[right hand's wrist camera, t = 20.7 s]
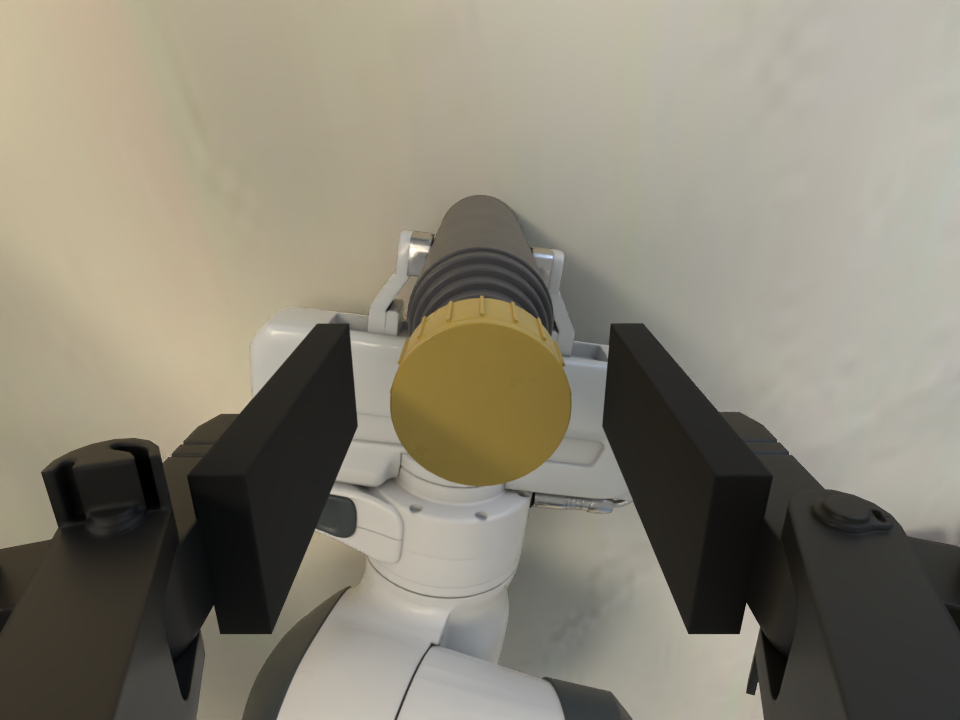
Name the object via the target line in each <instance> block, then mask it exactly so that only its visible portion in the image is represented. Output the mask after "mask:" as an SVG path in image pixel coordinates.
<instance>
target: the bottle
mask: <svg viewBox="0 0 960 720" xmlns="http://www.w3.org/2000/svg"><path fill="white" fill-rule="evenodd" d="M480 296H484V298H490V299H496V300H502V301H505V302H508V303H511V301H512V302H515V305H516V306H518V307H520V308H522V309H524V310H525V311H527V312H528V313H530V314H531V315H532V316H534V317H535V318H536V319H537V318H538V317H539V318H540V319H541V323H542V325H543V326H544V327H545V328H546V330H547V331H548V333H549V334H550V336H551V337H552V331H553V323H554V312H553V304H552V299H551V296H550V294H549V291H548V288H547V286H546V284H545V282H544V279H543V277H542V275H541V272H540V270H539V268H538V265H537V263H536V261H535V259H534V256H533V254H532V252H531V249H530V247H529V245H528V242H527V240H526V238H525V236H524V233H523V231H522V229H521V226H520V224H519V222H518V220H517V218H516V216H515V214H514V213H513V211H512V210H511V209H510V208H509V207H508V206H507V205H506V204H505V203H503V202H502V201H500V200H498V199H496V198H494V197H490V196H485V195H476V196H470V197H467V198H464V199H462V200H460V201H459V202H457V203H456V204H454V205H453V206H452V207H451V208H450V209H449V211H448V212H447V213H446V215H445V217H444V218H443V221H442V223H441V226H440V228H439V230H438V233H437V235H436V237H435V240H434V242H433V244H432V247H431V249H430V251H429V254H428V256H427V258H426V261H425V263H424V265H423V268H422V270H421V272H420V275H419V277H418V279H417V282H416V284H415V287H414V289H413V291H412V294H411V296H410V300H409V304H408V312H407V323H408V331H409V337H411V335H412V334H413V332H414V331H415V329H416V328H417V327H418V326H419V325H420V323H421V322H422V318H423V317H424V316H426V317H428V316H429V315H430V314H432V313H433V312H435V311H436V310H438V309H440V308H442V307H444V306H446V305H448V304H449V301H453V303H454V302H457V301H460V300H465V299H471V298H480Z"/></svg>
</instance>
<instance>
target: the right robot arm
mask: <svg viewBox="0 0 960 720" xmlns="http://www.w3.org/2000/svg"><path fill="white" fill-rule="evenodd" d="M357 427H358V421H357V410H356V398H355V386H354V375H353V363H352V351H351V339H350V328H349V323H317V324H316V325H315V326H314V328H313V329H312V330H311V331H310V332H309V334H308V335H307V336H306V337H305V338H304V339H303V341H302V342H301V343H300V344H299V345H298V346H297V348H296V349H295V350H294V351H293V352H292V353H291V355H290V356H289V357H288V358H287V359H286V360H285V362H284V363H283V364H282V365H281V366H280V367H279V369H278V370H277V371H276V372H275V373H274V374H273V376H272V377H271V378H270V379H269V380H268V381H267V383H266V384H265V385H264V386H263V387H262V388H261V390H260V391H259V392H258V393H257V394H256V395H255V397H254V398H253V399H252V400H251V401H250V402H249V404H248V405H247V406H246V407H245V408H244V409H243V411H242V412H241V413H240V414H220V415H218V416H217V417H215V418H213V419H211V420H209V421H208V422H206V423H204V424H202V425H200V426H198V427H197V428H196V429H195V430H194V431H193V432H192V433H191V435H190V436H189V437H188V438H187V439H186V440H185V441H184V444H183V445H180V446H179V447H178V448H177V449H176V450H175V451H174V452H173V453H172V457H168V458H167V460H166V461H165V462H164V463H162V459H161V455H160V450H159V446H157V445H156V444H154V443H153V442H151V441H149V440H143V439H136V438H129V439H113V440H109V441H104V442H99V443H94V444H91V445H88V446H85V447H82V448H79V449H76V450H74V451H71V452H69V453H67V454H65V455H63V456H62V457H60V458H58V459H56V460H54V461H53V462H51V463H50V464H49V465H48V466H47V467H46V468H45V469H44V470H43V471H42V472H41V473H42V477H43V480H44V483H45V486H46V489H47V492H48V496H49V499H50V502H51V505H52V508H53V511H54V514H55V518H56V521H57V524H58V527H59V528H58V529H57V531H56V533H55V535H54V537H53V538H52V539H51V540H47V541H41V542H36V543H31V544H26V545H20V546H15V547H10V548H4V549H0V720H196V716H197V709H198V702H199V694H200V687H201V680H202V672H203V665H204V658H205V651H204V644H203V639H202V635H201V630H200V628H201V627H202V625H203V623H204V621H205V619H206V618H207V616H208V614H209V612H210V611H211V609H212V607H213V605H214V606H215V611H216V616H217V621H218V625H219V630H220V634H272V632H273V629H274V627H275V624H276V622H277V620H278V617H279V615H280V612H281V610H282V608H283V605H284V603H285V600H286V598H287V596H288V593H289V591H290V588H291V586H292V584H293V581H294V579H295V576H296V574H297V572H298V569H299V567H300V564H301V562H302V559H303V557H304V555H305V552H306V550H307V547H308V545H309V543H310V540H311V538H312V535H313V533H314V531H315V528H316V526H317V523H318V521H319V519H320V516H321V514H322V511H323V509H324V507H325V504H326V502H327V499H328V497H329V495H330V492H331V490H332V487H333V485H334V483H335V480H336V478H337V475H338V473H339V471H340V468H341V466H342V463H343V461H344V459H345V456H346V454H347V451H348V449H349V447H350V444H351V442H352V439H353V437H354V435H355V432H356V430H357ZM602 427H603V430H604V432H605V435H606V437H607V439H608V442H609V444H610V447H611V449H612V451H613V454H614V456H615V459H616V461H617V463H618V466H619V468H620V471H621V473H622V475H623V478H624V480H625V483H626V485H627V487H628V490H629V492H630V495H631V497H632V499H633V502H634V504H635V507H636V509H637V511H638V514H639V516H640V519H641V521H642V523H643V526H644V528H645V531H646V533H647V535H648V538H649V540H650V543H651V545H652V547H653V550H654V552H655V555H656V557H657V559H658V562H659V564H660V567H661V569H662V572H663V574H664V576H665V579H666V581H667V584H668V586H669V588H670V591H671V593H672V596H673V598H674V600H675V603H676V605H677V608H678V610H679V612H680V615H681V617H682V620H683V622H684V624H685V627H686V629H687V632H688V634H740V630H741V625H742V621H743V616H744V611H745V606H746V602H747V604H748V606H749V608H750V609H751V611H752V613H753V615H754V616H755V618H756V620H757V622H758V623H759V625H760V630H759V635H758V639H757V644H756V648H755V652H754V657H753V661H752V665H751V670H750V674H749V679H748V684H747V691H746V693H747V694H751V695H755V691H756V687H757V683H758V682H759V686H760V693H761V700H762V707H763V715H764V720H960V546H954V545H949V544H944V543H939V542H933V541H928V540H923V539H917V538H912V537H908V536H907V535H906V534H905V532H904V530H903V528H902V526H901V525H900V524H899V523H898V522H897V521H896V520H895V519H894V517H893V516H892V515H891V514H889V513H888V512H886V511H885V510H883V509H882V508H880V507H879V506H877V505H876V504H874V503H872V502H869V501H867V500H864V499H862V498H860V497H857V496H855V495H852V494H848V493H843V492H839V491H835V490H827V489H824V488H823V487H822V486H821V485H820V484H819V483H818V482H817V481H816V480H815V479H814V477H813V476H812V475H811V474H810V473H809V472H808V471H807V470H806V469H805V468H804V467H803V466H802V465H801V464H800V463H799V462H798V461H797V460H796V459H795V458H794V457H793V456H792V455H789V452H788V451H787V450H786V449H785V448H784V446H783V445H782V444H781V443H777V439H776V438H775V437H774V436H773V435H772V434H771V433H770V432H769V431H768V430H767V429H766V428H765V427H764V426H763V425H762V424H760V423H758V422H756V421H755V420H753V419H751V418H749V417H747V416H746V415H744V414H742V413H740V412H718V411H717V409H716V408H715V407H714V406H713V405H712V404H711V402H710V401H709V400H708V399H707V398H706V397H705V395H704V394H703V393H702V392H701V391H700V390H699V388H698V387H697V386H696V385H695V384H694V383H693V381H692V380H691V379H690V378H689V377H688V376H687V374H686V373H685V372H684V371H683V370H682V369H681V367H680V366H679V365H678V364H677V363H676V362H675V360H674V359H673V358H672V357H671V356H670V355H669V353H668V352H667V351H666V350H665V349H664V348H663V346H662V345H661V344H660V343H659V342H658V341H657V339H656V338H655V337H654V336H653V335H652V334H651V332H650V331H649V330H648V329H647V328H646V326H645V325H644V324H643V323H611V328H610V339H609V351H608V363H607V375H606V386H605V398H604V410H603V421H602Z"/></svg>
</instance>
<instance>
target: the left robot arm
mask: <svg viewBox="0 0 960 720" xmlns="http://www.w3.org/2000/svg"><path fill="white" fill-rule="evenodd" d="M433 242H434V234H431V233H425V232H418V231H412V230H403V231H402V232H401V233H400V238H399V244H398V256H397V268H396V270H395V271H394V272H393V274H392V275H391V277H390V278H389V279H388V281H387V282H386V284H385V285H384V286H383V288H382V289H381V291H380V292H379V293H378V295H377V296H376V298H375V299H374V301H373V303H372V304H371V306H370V307H369V315H361V314H353V313H345V312H337V311H329V310H320V309H312V308H304V307H297V306H286V307H283V308H281V309H280V310H279V311H277V312H276V313H275V314H273V315H272V316H271V317H269V318H268V319H267V320H266V321H265V322H264V323H263V324H262V325H261V326H260V327H259V328H258V330H257V331H256V332H255V334H254V336H253V338H252V340H251V344H250V377H251V389H252V399H253V398H254V397H255V395H256V394H257V393H258V392H259V391H260V390H261V388H262V387H263V386H264V385H265V384H266V383H267V381H268V380H269V379H270V378H271V377H272V376H273V374H274V373H275V372H276V371H277V370H278V369H279V367H280V366H281V365H282V364H283V363H284V362H285V360H286V359H287V358H288V357H289V356H290V355H291V353H292V352H293V351H294V350H295V349H296V348H297V346H298V345H299V344H300V343H301V342H302V341H303V339H304V338H305V337H306V336H307V335H308V334H309V332H310V331H311V330H312V329H313V328H314V326H315V325H316V324H317V323H349V328H350V339H351V351H352V363H353V375H354V386H355V398H356V410H357V421H358V427H357V430H356V432H355V435H354V437H353V439H352V442H351V444H350V447H349V449H348V451H347V454H346V456H345V459H344V461H343V463H342V466H341V468H340V471H339V473H338V475H337V478H336V480H335V483H334V485H333V487H332V490H331V492H330V495H329V497H328V499H327V502H326V504H325V507H324V509H323V511H322V514H321V516H320V519H319V521H318V523H317V526H316V528H315V532H317V533H320V534H322V535H325V536H327V537H330V538H332V539H335V540H337V541H339V542H341V543H344V544H346V545H348V546H350V547H352V548H354V549H356V550H358V551H360V552H362V553H364V554H365V556H366V569H365V573H364V575H363V578H362V580H361V582H360V584H359V585H358V586H356V587H354V588H352V587H351V586H349V587H347V588H344V589H343V590H341V591H339V592H337V593H336V594H334V595H333V596H331V597H330V598H329V599H327V600H326V601H325V602H324V603H322V604H321V605H319V606H318V607H317V608H315V609H314V610H313V611H312V612H310V613H309V614H308V615H306V616H305V617H304V618H303V619H301V620H300V621H299V622H298V623H297V624H296V625H295V626H294V627H292V628H291V629H290V631H289V632H288V633H287V634H286V635H285V636H284V637H283V638H282V639H281V641H280V642H279V643H278V645H277V646H276V647H275V649H274V650H273V652H272V653H271V655H270V656H269V658H268V659H267V661H266V662H265V664H264V666H263V667H262V669H261V671H260V673H259V674H258V676H257V678H256V680H255V682H254V685H253V687H252V689H251V692H250V695H249V697H248V701H247V704H246V707H245V710H244V714H243V718H242V720H633V719H632V718H631V717H630V715H629V714H628V712H627V711H626V710H625V709H624V707H623V706H622V705H621V704H620V702H619V701H618V700H617V699H616V697H615V696H614V695H613V694H612V693H611V692H610V691H606V690H601V689H597V688H592V687H588V686H583V685H579V684H574V683H570V682H566V681H561V680H557V679H552V678H548V677H544V678H542V679H540V678H537V677H534V676H531V675H528V674H525V673H522V672H519V671H516V670H513V669H510V668H507V667H504V666H501V665H498V662H499V658H500V655H501V651H502V647H503V643H504V638H505V634H506V629H507V624H508V618H509V600H508V594H507V587H508V585H509V584H510V582H511V581H512V579H513V577H514V575H515V573H516V571H517V568H518V564H519V561H520V556H521V550H522V545H523V540H524V535H525V529H526V524H527V519H528V512H529V508H531V506H532V507H541V508H550V509H576V510H585V511H587V512H590V513H596V514H607V513H611V512H612V511H613V508H617V507H622V506H625V505H628V504H630V503H631V502H633V499H632V497H631V495H630V492H629V490H628V487H627V485H626V483H625V480H624V478H623V475H622V473H621V471H620V468H619V466H618V463H617V461H616V459H615V456H614V454H613V451H612V449H611V447H610V444H609V442H608V439H607V437H606V435H605V432H604V430H603V427H602V421H603V410H604V398H605V386H606V375H607V363H608V351H609V345H604V344H596V343H588V342H580V341H574V337H575V332H574V329H573V326H572V323H571V321H570V318H569V315H568V313H567V310H566V307H565V305H564V302H563V299H562V296H561V294H560V292H559V288H560V282H561V277H562V271H563V266H564V254H563V252H562V251H561V250H556V249H549V248H540V247H530V249H531V252H532V254H533V256H534V259H535V261H536V263H537V265H538V268H539V270H540V272H541V275H542V277H543V279H544V282H545V284H546V286H547V288H548V291H549V294H550V296H551V299H552V304H553V312H554V323H553V331H552V339H553V341H556V342H557V344H558V347H559V349H560V352H561V355H562V357H563V360H564V363H565V366H564V367H563V368H564V371H565V373H566V376H567V379H568V383H569V386H570V389H571V392H572V396H571V397H572V410H571V417H570V422H569V425H568V429H567V431H566V433H565V436H564V438H563V440H562V442H561V443H560V445H559V446H558V448H557V449H556V451H555V452H554V453H553V454H552V456H551V457H550V458H549V459H548V460H547V461H546V462H545V463H543V464H542V465H541V466H540V467H538V468H537V469H536V470H534V471H533V472H531V473H529V474H527V475H526V476H524V477H521V478H519V479H517V480H514V481H511V482H508V483H504V484H499V485H493V486H468V485H462V484H457V483H454V482H450V481H447V480H445V479H443V478H440V477H438V476H436V475H434V474H432V473H431V472H429V471H427V470H426V469H425V468H423V467H422V466H421V465H419V464H418V463H417V462H416V461H415V460H414V459H413V458H412V457H411V456H410V455H409V454H408V452H407V451H406V450H405V449H404V447H403V445H402V444H401V442H400V441H399V439H398V437H397V434H396V432H395V430H394V426H393V423H392V419H391V412H390V396H391V394H390V389H391V386H392V383H393V380H394V377H395V375H396V372H397V369H398V366H399V364H397V362H398V360H399V357H400V354H401V351H402V348H403V346H404V343H405V340H406V339H408V340H409V338H410V337H409V331H408V323H407V320H403V311H404V301H403V300H401V299H394V298H395V297H396V295H397V294H398V293H399V291H400V290H401V288H402V287H403V286H404V284H405V283H406V281H407V280H408V279H409V277H410V276H419V275H420V272H421V270H422V268H423V265H424V263H425V261H426V258H427V256H428V254H429V251H430V249H431V247H432V244H433ZM613 499H619V500H613Z"/></svg>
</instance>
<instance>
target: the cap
mask: <svg viewBox="0 0 960 720" xmlns="http://www.w3.org/2000/svg"><path fill="white" fill-rule="evenodd" d="M397 364H399V366H398V369H397V372H396V375H395V377H394V380H393V383H392V386H391V389H390V394H391V396H390V412H391V419H392V423H393V426H394V430H395V432H396V434H397V437H398V439H399V441H400V442H401V444H402V445H403V447H404V449H405V450H406V451H407V452H408V454H409V455H410V456H411V457H412V458H413V459H414V460H415V461H416V462H417V463H418V464H419V465H421V466H422V467H423V468H425V469H426V470H427V471H429V472H431V473H432V474H434V475H436V476H438V477H440V478H443V479H445V480H447V481H450V482H454V483H457V484H462V485H468V486H493V485H499V484H504V483H508V482H511V481H514V480H517V479H519V478H521V477H524V476H526V475H527V474H529V473H531V472H533V471H534V470H536V469H537V468H538V467H540V466H541V465H542V464H543V463H545V462H546V461H547V460H548V459H549V458H550V457H551V456H552V454H553V453H554V452H555V451H556V449H557V448H558V446H559V445H560V443H561V442H562V440H563V438H564V436H565V433H566V431H567V429H568V425H569V422H570V417H571V410H572V397H571V396H572V392H571V389H570V386H569V383H568V379H567V376H566V373H565V371H564V368H563V367H564V366H565V363H564V360H563V357H562V355H561V352H560V349H559V347H558V344H557V342H556V341H553V339H552V337H551V336H550V334H549V333H548V331H547V330H546V328H545V327H544V326H543V325H542V323H541V319H540V318H539V317H538V318H537V319H536V318H535V317H534V316H532V315H531V314H530V313H528V312H527V311H525V310H524V309H522V308H520V307H518V306H516V305H515V302H512V301H511V303H508V302H505V301H502V300H496V299H490V298H484V296H480V298H471V299H465V300H460V301H457V302H454V303H453V301H449V304H448V305H446V306H444V307H442V308H440V309H438V310H436V311H435V312H433V313H432V314H430V315H429V316H428V317H426V316H424V317H423V318H422V322H421V323H420V325H419V326H418V327H417V328H416V329H415V331H414V332H413V334H412V335H411V337H410V338H409V340H408V339H406V340H405V343H404V346H403V348H402V351H401V354H400V357H399V360H398V362H397Z"/></svg>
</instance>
